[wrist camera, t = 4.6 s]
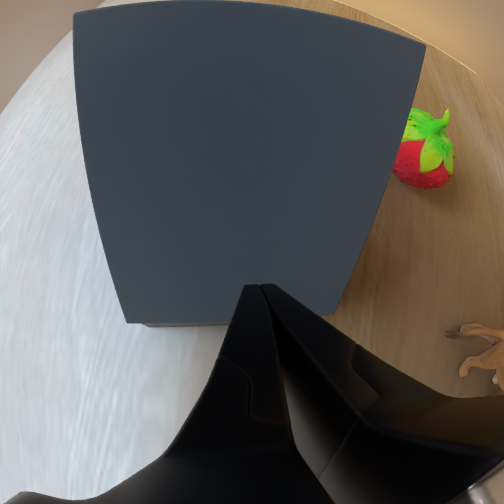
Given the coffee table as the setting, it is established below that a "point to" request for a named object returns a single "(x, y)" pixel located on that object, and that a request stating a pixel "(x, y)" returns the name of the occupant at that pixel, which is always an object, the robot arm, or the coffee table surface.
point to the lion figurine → (496, 357)
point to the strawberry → (425, 151)
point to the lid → (236, 148)
